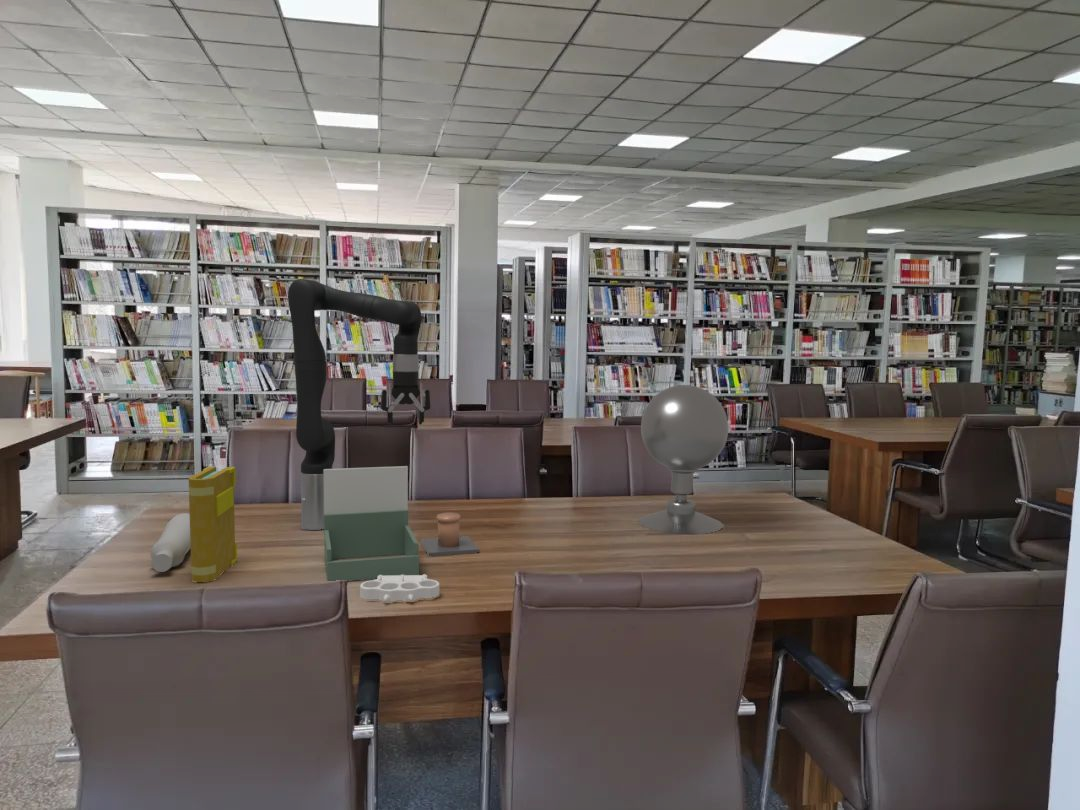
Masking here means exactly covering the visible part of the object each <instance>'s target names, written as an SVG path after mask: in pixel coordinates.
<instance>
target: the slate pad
mask: <svg viewBox="0 0 1080 810" xmlns="http://www.w3.org/2000/svg"><path fill="white" fill-rule="evenodd" d="M421 543H422V544H421ZM420 544H421V545H423V546H422V548H423V550H424V551H425V552H427V553H426V554H427V556H428V557H429V556H431V557H439V556H438V555H444V556H451V555H450V554H457V555H464V554H463V553H470V554H478V553H477V552H479V553H480V548H479V547H478V546H477V545H476V544H475V542H474V541H473V539H471V538H470V536H469V535H462V536H460V535H459V545H458V546H455V547H441V546H439V545H438V537H433V538H432V537H431V538H420ZM475 552H476V553H475Z"/></svg>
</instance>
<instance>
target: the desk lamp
mask: <svg viewBox="0 0 1080 810" xmlns="http://www.w3.org/2000/svg"><path fill="white" fill-rule="evenodd" d="M640 434H641V439H642V443H643V444H644V447H645V449H646V451H647V452H648V454H649V455H650V456H651V457H652V458H653V459H654V460H655V461H656V462H658V463H659V464H660V465H662V466H664V467H666V469H667V470H669V471H671V481H670V492H671V493H673V494H675V497H673V498H670V499H669V500H667V503H666V508H665V509H663V510H659V511H656V512H653V513H649V514H645V515H643V516H640V517H639V518H638V520H637V522H638V524H639V525H641V526H643V527H645V528H646V529H649V530H654V531H657V532H662V533H668V534H678V535H704V534H705V533H707V534H712V533H711V532H713V533H716V532H715V531H717V532H719V531H718V530H720V529H721V528H722V526H723V525H724V523H723V524H722V523H721V522H722V521H720V520H718V519H716V518H713V517H711V516H709V515H705V514H704V513H701V512H699V511H696V509H697V508H696V507H697V505H696V502H695V501H694V500H692V499H689V498H687V497H688V495H690V494H692V493H693V491H694V490H693V488H694V473H695V472H698V471H699V470H700V469H702V468H704V467H707V466H708V465H709V464H711V463H712V462H714V461H715V460H716V459H717V458H718V456H719V455H721V453H722V451H723V450H724V448H725V445H726V444H727V441H728V437H729V436H728V435H729V419H728V416H727V413H726V411H725V409H724V407H723V405H722V404H721V402H720V401H719V399H717V398H716V396H714V395H713V394H712V393H710V392H709V391H708V390H706V389H704V388H701V387H699V386H696V385H690V384H680V385H674V386H671V387H667V388H665V389H663V390H661V391H660V392H658V393H657V394H656V395H655V396H654V397H652V399H651V400H650V401H649V402H648V403H647V405H646V406H645V408H644V411H643V413H642V417H641V423H640ZM720 531H721V530H720ZM705 535H706V534H705Z"/></svg>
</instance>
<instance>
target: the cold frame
mask: <svg viewBox="0 0 1080 810" xmlns="http://www.w3.org/2000/svg"><path fill="white" fill-rule="evenodd" d="M408 476H409V466H408V465H404V466H403V465H401V466H375V467H373V466H372V467H349V468H347V467H345V468H332V469H324V529H323V535H324V536H323V537H324V538H323V539H324V541H323V542H324V543H323V544H324V546H323V547H324V550H323V551H324V564H325V565H324V566H326V567H325V573H326V574H327V575H326V580H327V581H336V580H347V581H348V582H350V581H349V580H360V581H363V580H362V579H372V580H375V579H374V578H377V577H378V576H379V575H382V576H387V575H420V556H419V542H418V540H417V538H416V537H415V534H414V533H413V531H412V529H411V528H410V525H409V509H408V508H409V491H408V490H409V488H408V487H409V479H408V478H409V477H408ZM384 555H385V556H387V557H385V556H384ZM395 555H396V556H395ZM397 555H398V556H397ZM399 555H400V556H399ZM369 556H370V557H371V558H370V557H369ZM381 556H384V557H381ZM355 557H357V558H360V559H357V558H355ZM367 557H369V558H367ZM372 557H373V558H372ZM343 558H344V559H346V560H344V559H343ZM354 558H355V559H354ZM342 559H343V560H342Z"/></svg>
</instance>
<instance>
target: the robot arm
mask: <svg viewBox="0 0 1080 810" xmlns="http://www.w3.org/2000/svg"><path fill="white" fill-rule="evenodd" d="M287 301H288V309H289V315H290V319H291V327H292V329H291V330H292V340H293V354H294V355H293V359H294V360H293V361H294V362H293V363H294V376H295V389H296V390H295V391H296V393H295V394H296V404H297V405H296V429H295V437H296V442H297V443H298V445H299V447H300V449H302V450H303V451H305V456H304V459H303V460H302V462H301V464H300V484H301V485H300V495H301V496H300V499H301V500H300V502H301V506H300V507H301V508H300V510H301V511H300V513H301V515H300V516H301V530H307V531H318V530H319V531H320V530H321V529H322V530H324V469H333V464H334V462H335V456H336V453H335V452H336V433H335V432H336V431H335V428H334V426H333V424H332V423H331V422H330V421H329V420H327V419H324V418H322V398H323V394H324V392H325V388H326V384H327V383H326V382H327V378H328V377H327V376H328V371H327V370H328V369H327V368H328V367H327V356H326V351H325V347H324V345H323V343H322V341H321V339H320V336H319V334H318V331H317V327H316V318H315V315H316V314H315V312H316V311H336V312H337V311H338V312H343V313H346V314H349V315H353V316H356V317H359V318H364V319H368V320H375V321H383V322H386V323H389V324H393V325H397V326H398V331H397V334H396V335H394V337H393V351H392V352H393V356H392V357H393V358H392V387H391V388H392V389H391V390H389V389H382V390H381V393H380V409H381V410H382V411H384V412H386V416H387V417H386V419H387V420H386V422H387V423H388V424H389V425H390V426H393V424H394V422H393V421H394V419H393V418H394V417H393V415H394V414H393V411H394V409H395V407H397V406H398V404H399V405H413V404H414V406H416V408H417V409H418V414H417V415H418V420H417V421H418V425H423V423H425V422H424V421H425V412H426V411H428V410H431V398H430V396H431V395H430V390H429V389H427V388H425V389H420V388H419V387H420V385H419V384H420V383H419V380H420V379H419V377H420V376H419V369H420V366H419V364H420V363H419V355H418V354H419V350H418V349H419V348H418V347H419V346H418V343H419V342H418V341H419V335H420V330H421V325H422V311H421V309H420V306H419V305H418V304H417V303H415V302H413V301H407V300H397V299H391V298H386V297H383V296H380V295H373V294H368V293H361V292H352V291H351V292H350V291H347V290H341V289H337V288H334V287H332V286H328V285H326V284H324V283H321V282H319V281H316V280H314V279H305V278H299V279H295V280H293V281H292V282H291V283H290V285H289V287H288V290H287ZM390 395H391V396H392V397H393V400H392V401H391V403H390V404H389V405H388V406H387V398H389V396H390ZM420 395H421V396H422V397H423V398H424V405H422V404H421V403H420V401H419V400H418V397H419V396H420ZM322 530H321V531H322Z"/></svg>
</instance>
